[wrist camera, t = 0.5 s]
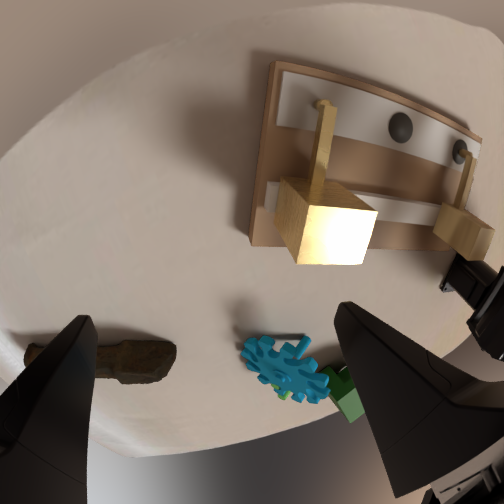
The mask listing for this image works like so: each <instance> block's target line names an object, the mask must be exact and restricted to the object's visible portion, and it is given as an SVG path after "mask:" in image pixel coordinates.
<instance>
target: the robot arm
mask: <svg viewBox="0 0 504 504" xmlns="http://www.w3.org/2000/svg"><path fill="white" fill-rule="evenodd" d="M441 291H442V292H451V291H456V292H457V293H458V294H459V295H460V296H461V297H462V298H463V299H464V300H465V302H466V303H467V304H468V305H469V306H470V307H471V308H472V309H473V310H474V313H473V314H472V316H471V317H470V318H469V319H468V320H467V322H466V323H467V325H468V326H469V329H470V331H471V332H472V334H473V336H474V337H475V339H476V341H477V342H478V344H479V346H480V348H481V350H482V351H486V352H487V353H489V354H490V355H491V357H492V358H494V359H497V360H500V361H503V362H504V266H502V267H501V268H500V271H499V273H497V272H496V271H495V270H494V269H492V268H491V267H490V266H489V265H488V264H487V263H486V262H484V261H483V260H474V261H467V260H466V259H465V258H464V257H463V256H462V255H460V254H459V253H457V256H456V258H455V260H454V263H453V265H452V267H451V269H450V271H449V274H448V276H447V278H446V280H445V282H444V284H443V286H442V288H441ZM334 326H335V330H336V333H337V336H338V340H339V343H340V347H341V350H342V354H343V357H344V360H345V363H346V365H347V368H348V370H349V373H350V375H351V378H352V380H353V383H354V385H355V388H356V390H357V393H358V395H359V398H360V400H361V403H362V406H363V408H364V411H365V413H366V416H367V419H368V421H369V424H370V427H371V429H372V432H373V435H374V437H375V440H376V443H377V446H378V449H379V451H380V454H381V457H382V460H383V463H384V466H385V469H386V472H387V475H388V477H389V481H390V484H391V486H392V490H393V493H394V496H395V498H399V497H401V496H404V495H406V494H408V493H410V492H413V491H415V490H417V489H419V488H421V487H423V486H426V485H428V484H430V485H431V487H432V488H430V489H429V490H427V491H426V493H425V495H424V498H423V501H422V503H421V504H504V381H500V382H499V381H498V382H486V381H482V380H479V379H477V378H475V377H473V376H471V375H470V374H468V373H466V372H464V371H462V370H460V369H458V368H457V367H455V366H453V365H451V364H449V363H448V362H446V361H444V360H442V359H441V358H439V357H438V356H436V355H434V354H433V353H431V352H430V351H428V350H426V349H425V348H424V347H422V346H420V345H419V344H417V343H416V342H414V341H413V340H411V339H410V338H408V337H407V336H405V335H403V334H402V333H400V332H399V331H397V330H396V329H394V328H393V327H391V326H389V325H388V324H386V323H385V322H383V321H382V320H380V319H378V318H377V317H375V316H374V315H372V314H371V313H369V312H367V311H366V310H364V309H363V308H361V307H360V306H358V305H356V304H355V303H353V302H351V301H347V302H341V303H340V304H339V306H338V309H337V312H336V315H335V318H334ZM97 340H98V336H97V331H96V329H95V327H94V324H93V321H92V319H91V317H90V316H89V315H78V316H77V317H76V318H74V319H73V320H72V321H71V322H70V323H69V324H68V325H67V326H66V327H65V328H64V329H63V330H62V331H61V332H60V333H59V334H58V335H57V336H56V337H55V338H54V339H53V340H52V341H51V342H50V343H49V344H48V345H47V346H46V347H45V348H44V349H43V350H42V351H41V352H40V353H39V354H38V355H37V356H36V357H35V358H34V360H33V361H32V362H31V363H30V364H29V365H28V366H27V367H26V368H25V369H24V370H23V371H22V372H21V373H20V375H19V376H18V377H17V378H16V379H17V380H16V379H15V380H14V381H13V382H12V383H11V385H10V386H9V387H8V388H7V389H6V390H5V391H4V392H3V393H2V395H0V504H87V448H88V433H89V422H90V412H91V403H92V395H93V388H94V381H95V368H96V352H97Z"/></svg>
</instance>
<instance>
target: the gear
mask: <svg viewBox="0 0 504 504" xmlns="http://www.w3.org/2000/svg"><path fill="white" fill-rule="evenodd" d="M310 342H311V339H310V338H309V337H307V336H303V338H302V339H301V341H300V342H299V344H298V345H297V347H294V346H293V345H291V344H290V343H288V342H286V343H285V344H284V345H283V346H282V348H281V349H280V352H276V351H274V350H273V349H272V346H273V345H274V344H275V341H274V339H273V338H271V337H268V336H265V335H263V336H262V337H261V339H260V340H259V341H258V340H257V339H256V338H248V339H247V341H246V342H245V343H244V346H245V348H244V350H243V351H242V352H241V355H242V356H243V357H244V358H246V359H248V362H247V363H246V366H247V368H248V369H249V370H251V371H255V372H258V373H260V375H259V376H258V377H257V378H258V379H259V381H260V382H261V383H263V384H268V383H271V386H272V387H273V388H274V391H275V392H276V393H278V397H279V398H280V399H282V400H285V399H286V398H287V397H288V395H289V394H290V392H293V393H294V394H293V395H292V396H291V398H292V399H293V400H295V401H297V402H300V403H301V402H302V401H303V399H304V398H305V395H306V396H307V401H308V402H309V403H313V404H318V402H319V400H320V399H325V398H326V397H327V396H328V394H329V392H330V391H331V390H330V389H329V388H327V387H326V385H327V383H328V381H329V376H328V375H326V374H322V373H315V370H316V369H317V367H318V364H317V362H316V361H315V360H314V359H313V358H312V357H307V358H306V359H303V360H299V359H300V358H301V356H302V354H303V353H304V351H305V350H306V348H307V347H308V345H309V344H310ZM260 347H261V348H262V349H261V348H260ZM303 393H304V394H305V395H304V394H303Z"/></svg>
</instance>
